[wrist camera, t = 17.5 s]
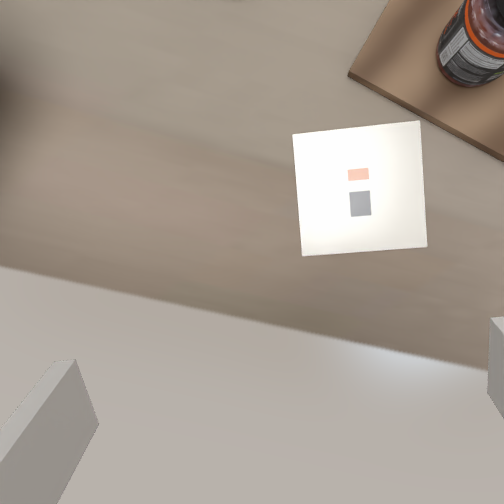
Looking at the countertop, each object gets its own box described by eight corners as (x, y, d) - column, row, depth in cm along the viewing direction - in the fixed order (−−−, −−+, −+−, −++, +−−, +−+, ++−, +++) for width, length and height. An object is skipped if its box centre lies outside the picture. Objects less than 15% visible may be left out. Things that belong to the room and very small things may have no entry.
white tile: (302, 256, 41) (302, 256, 41) (292, 134, 40) (292, 134, 40) (426, 246, 39) (427, 246, 39) (419, 120, 39) (420, 120, 38)
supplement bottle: (471, -3, 36) (545, -100, 25) (527, 46, 36) (627, -30, 24) (417, 56, 37) (465, -12, 26) (471, 104, 37) (543, 57, 25)
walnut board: (347, 76, 39) (349, 70, 37) (422, -55, 37) (427, -66, 36) (511, 166, 38) (519, 164, 36) (596, 36, 36) (608, 28, 35)
